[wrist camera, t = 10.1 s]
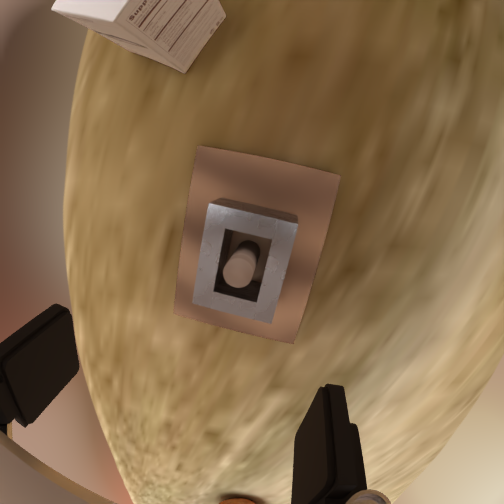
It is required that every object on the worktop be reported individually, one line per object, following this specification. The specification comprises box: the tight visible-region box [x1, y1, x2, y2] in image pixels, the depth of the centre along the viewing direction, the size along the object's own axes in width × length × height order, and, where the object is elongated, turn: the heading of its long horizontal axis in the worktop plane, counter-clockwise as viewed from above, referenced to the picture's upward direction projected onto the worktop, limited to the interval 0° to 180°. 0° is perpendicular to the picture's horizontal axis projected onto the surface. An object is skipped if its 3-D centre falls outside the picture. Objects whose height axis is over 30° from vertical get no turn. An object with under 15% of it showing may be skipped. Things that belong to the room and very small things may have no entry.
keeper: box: [174, 145, 341, 344], centre depth 23 cm, size 16×12×6 cm
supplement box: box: [51, 0, 226, 74], centre depth 15 cm, size 7×7×13 cm
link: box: [192, 197, 298, 324], centre depth 23 cm, size 8×6×4 cm
